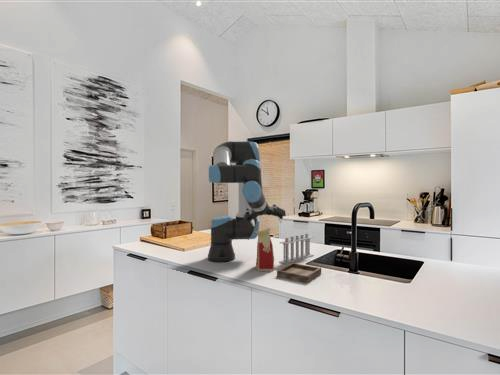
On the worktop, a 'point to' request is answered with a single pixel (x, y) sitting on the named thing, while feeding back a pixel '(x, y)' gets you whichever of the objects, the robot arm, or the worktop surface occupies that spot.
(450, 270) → the worktop surface
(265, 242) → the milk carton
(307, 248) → the test tube rack
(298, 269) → the walnut tray
